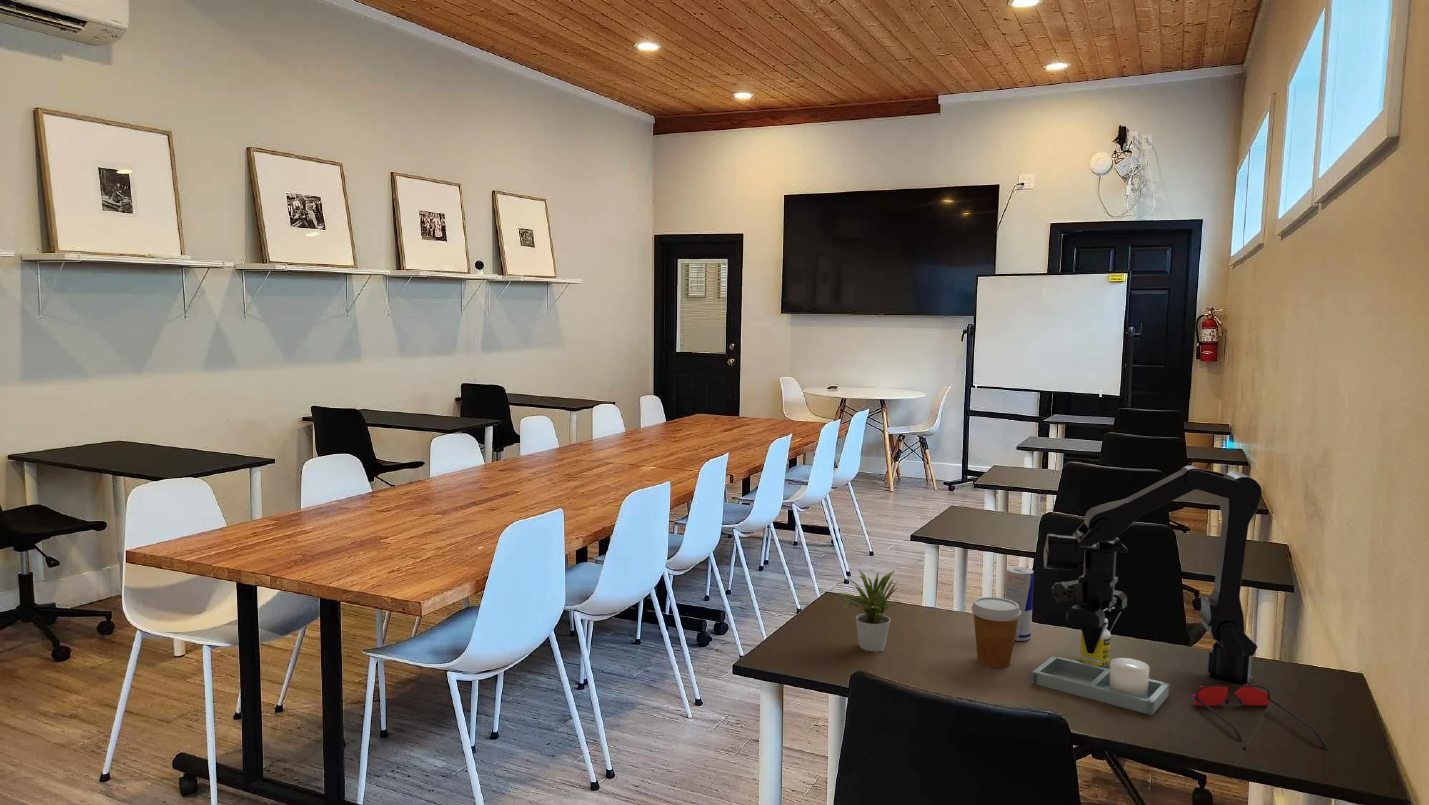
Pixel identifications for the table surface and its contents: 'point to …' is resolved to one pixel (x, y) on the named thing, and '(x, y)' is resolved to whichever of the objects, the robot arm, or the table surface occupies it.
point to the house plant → (872, 612)
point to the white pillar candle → (1129, 677)
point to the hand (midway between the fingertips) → (1095, 649)
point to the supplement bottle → (1097, 650)
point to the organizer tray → (1095, 684)
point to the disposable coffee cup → (995, 630)
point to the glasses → (1247, 695)
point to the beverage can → (1021, 598)
